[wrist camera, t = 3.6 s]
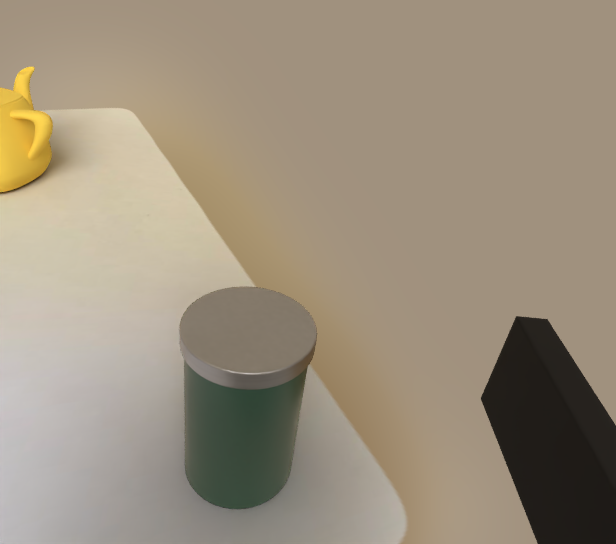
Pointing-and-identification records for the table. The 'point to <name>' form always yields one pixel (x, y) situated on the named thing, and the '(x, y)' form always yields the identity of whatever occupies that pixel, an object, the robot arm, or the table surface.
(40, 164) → the teapot
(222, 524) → the table surface
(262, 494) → the tin
